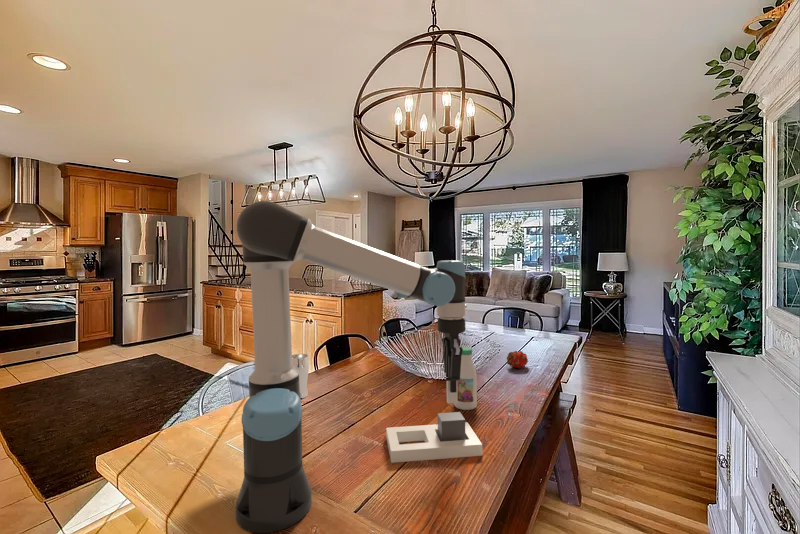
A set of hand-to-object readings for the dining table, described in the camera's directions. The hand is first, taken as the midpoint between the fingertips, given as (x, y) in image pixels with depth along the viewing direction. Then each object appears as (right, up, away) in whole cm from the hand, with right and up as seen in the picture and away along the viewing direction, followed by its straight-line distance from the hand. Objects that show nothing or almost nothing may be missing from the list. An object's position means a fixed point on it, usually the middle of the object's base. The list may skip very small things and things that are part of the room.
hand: (452, 402), depth 106 cm
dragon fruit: (+39, -9, +69) cm, 80 cm away
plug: (0, -12, +1) cm, 12 cm away
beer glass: (-52, -11, +37) cm, 65 cm away
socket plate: (-5, -12, 0) cm, 13 cm away
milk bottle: (+8, -11, +27) cm, 30 cm away
